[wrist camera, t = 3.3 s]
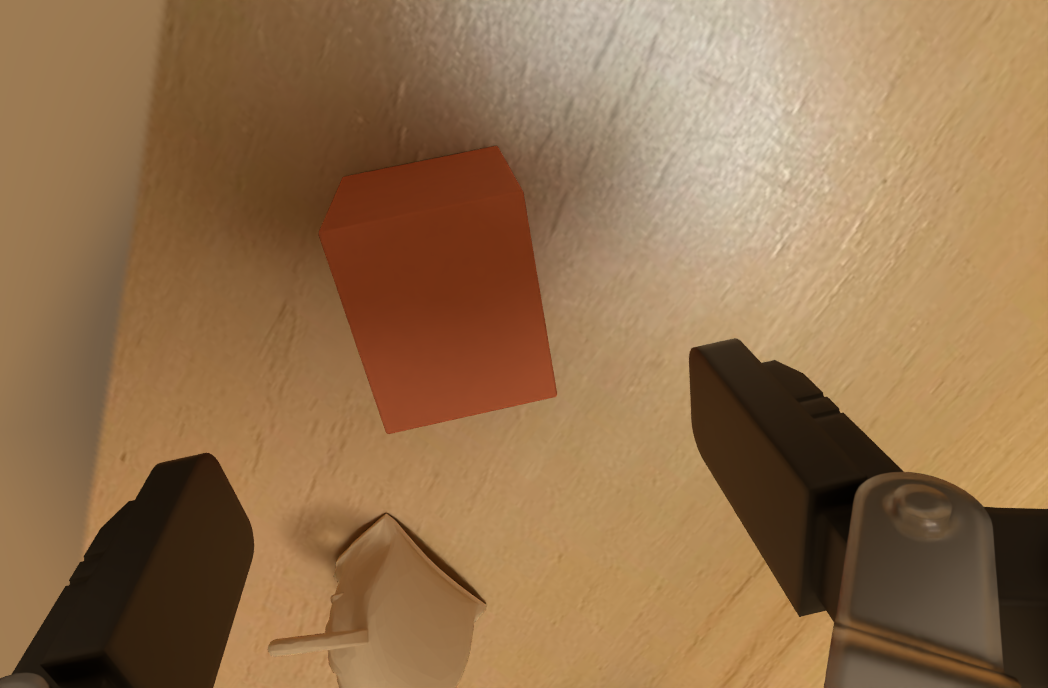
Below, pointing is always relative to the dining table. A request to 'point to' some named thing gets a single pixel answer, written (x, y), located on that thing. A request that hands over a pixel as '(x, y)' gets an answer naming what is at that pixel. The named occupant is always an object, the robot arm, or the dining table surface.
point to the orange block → (440, 288)
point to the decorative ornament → (392, 617)
